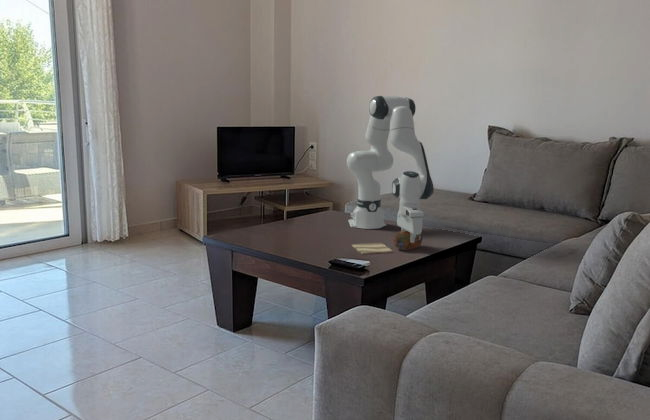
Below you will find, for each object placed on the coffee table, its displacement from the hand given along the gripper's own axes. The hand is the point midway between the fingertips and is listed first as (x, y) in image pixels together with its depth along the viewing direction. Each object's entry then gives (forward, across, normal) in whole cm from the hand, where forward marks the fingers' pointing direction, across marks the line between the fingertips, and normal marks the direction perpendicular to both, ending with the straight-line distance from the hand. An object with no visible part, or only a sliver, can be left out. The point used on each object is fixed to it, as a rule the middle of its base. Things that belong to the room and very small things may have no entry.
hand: (408, 240), depth 259 cm
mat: (+4, -2, -16) cm, 17 cm away
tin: (+4, 0, 0) cm, 4 cm away
